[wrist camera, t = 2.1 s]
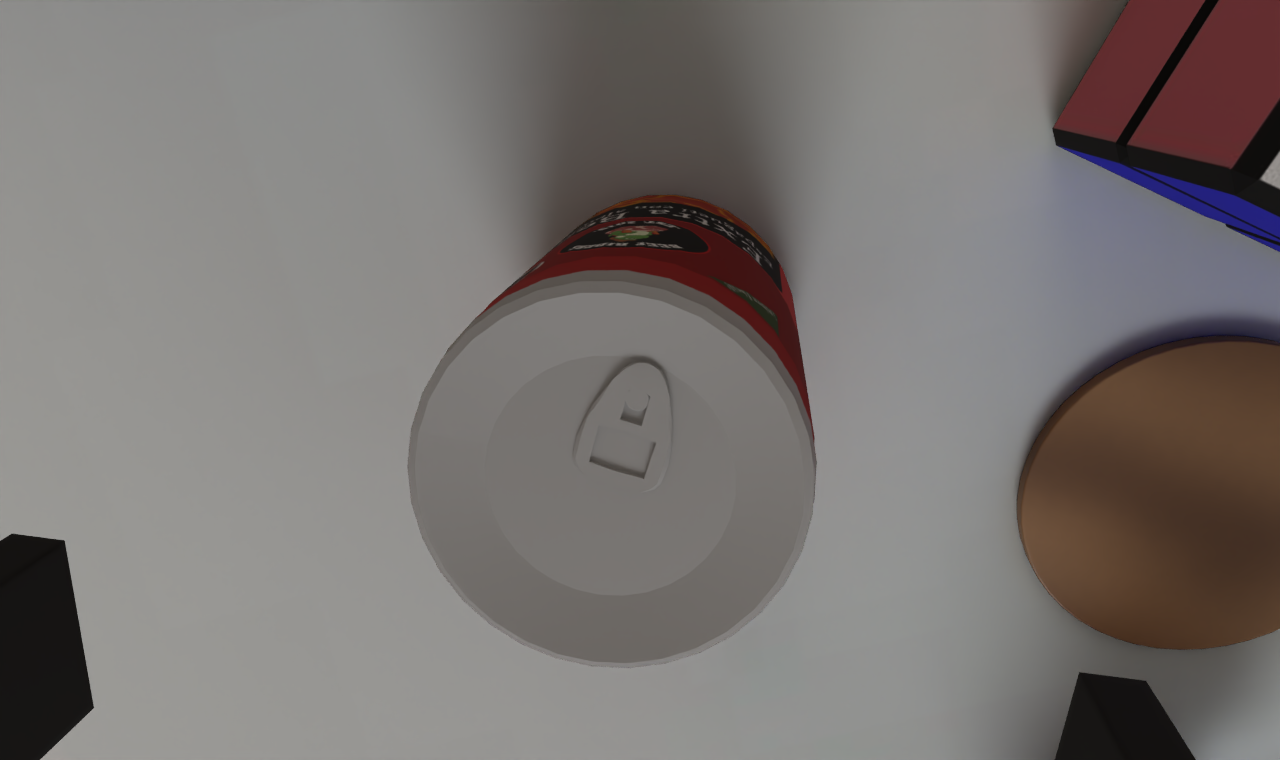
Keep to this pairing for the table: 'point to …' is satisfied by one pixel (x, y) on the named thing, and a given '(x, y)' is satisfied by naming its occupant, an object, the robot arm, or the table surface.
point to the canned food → (623, 440)
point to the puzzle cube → (1188, 108)
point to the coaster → (1163, 496)
